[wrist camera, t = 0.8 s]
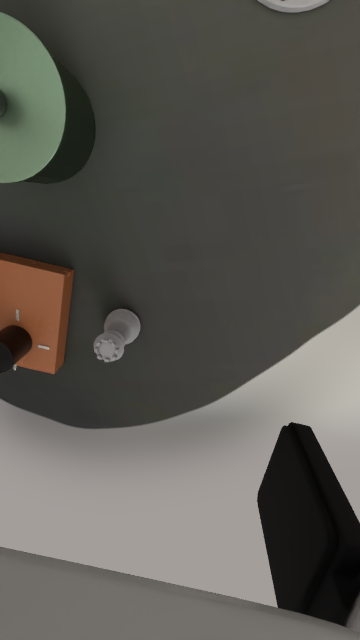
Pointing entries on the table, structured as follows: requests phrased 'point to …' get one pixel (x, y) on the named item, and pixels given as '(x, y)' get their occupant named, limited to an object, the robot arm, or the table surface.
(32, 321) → the knob base block
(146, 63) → the table surface
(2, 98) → the pot lid
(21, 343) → the stove knob
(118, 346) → the rook chess piece
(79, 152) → the pot
